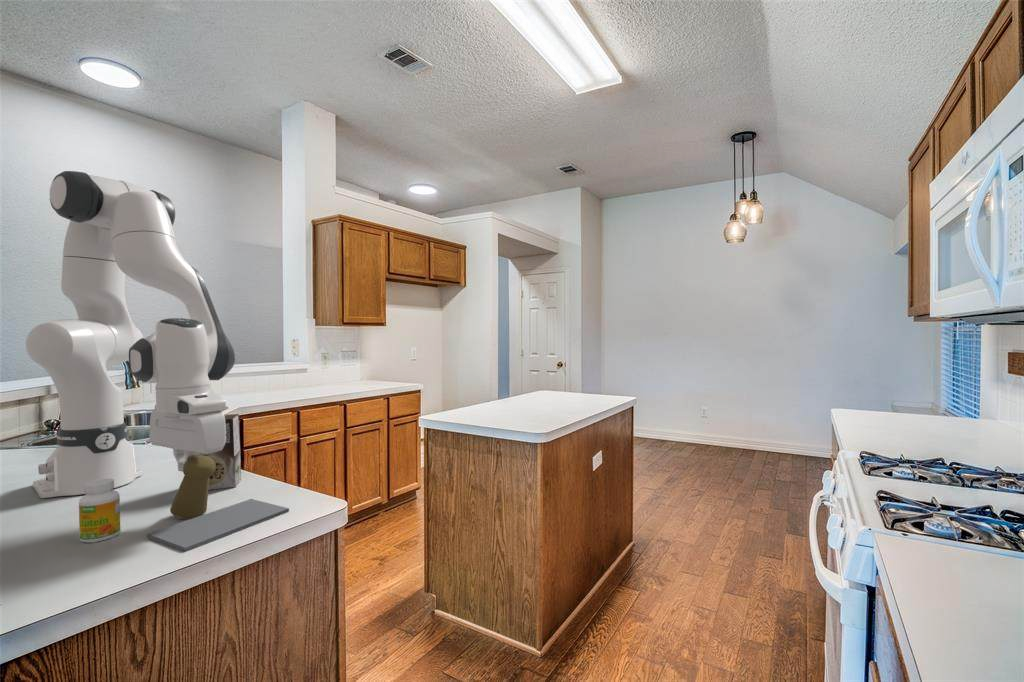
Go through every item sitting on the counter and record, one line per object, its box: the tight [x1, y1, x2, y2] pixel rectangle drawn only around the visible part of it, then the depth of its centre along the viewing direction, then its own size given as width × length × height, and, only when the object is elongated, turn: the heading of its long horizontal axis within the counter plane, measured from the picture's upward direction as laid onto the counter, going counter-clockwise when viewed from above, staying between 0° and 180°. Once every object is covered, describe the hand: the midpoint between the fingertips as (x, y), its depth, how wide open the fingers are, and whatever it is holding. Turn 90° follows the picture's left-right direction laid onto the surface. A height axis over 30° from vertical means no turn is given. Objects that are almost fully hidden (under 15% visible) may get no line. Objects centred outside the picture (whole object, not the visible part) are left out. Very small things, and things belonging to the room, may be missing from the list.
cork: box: [169, 456, 215, 520], centre depth 91 cm, size 6×6×11 cm
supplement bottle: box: [78, 479, 121, 544], centre depth 82 cm, size 5×5×10 cm
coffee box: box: [198, 413, 242, 491], centre depth 110 cm, size 9×6×16 cm
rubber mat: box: [146, 498, 290, 552], centre depth 88 cm, size 12×19×1 cm, turn 152°
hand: (186, 471), depth 92 cm, fingers closed
